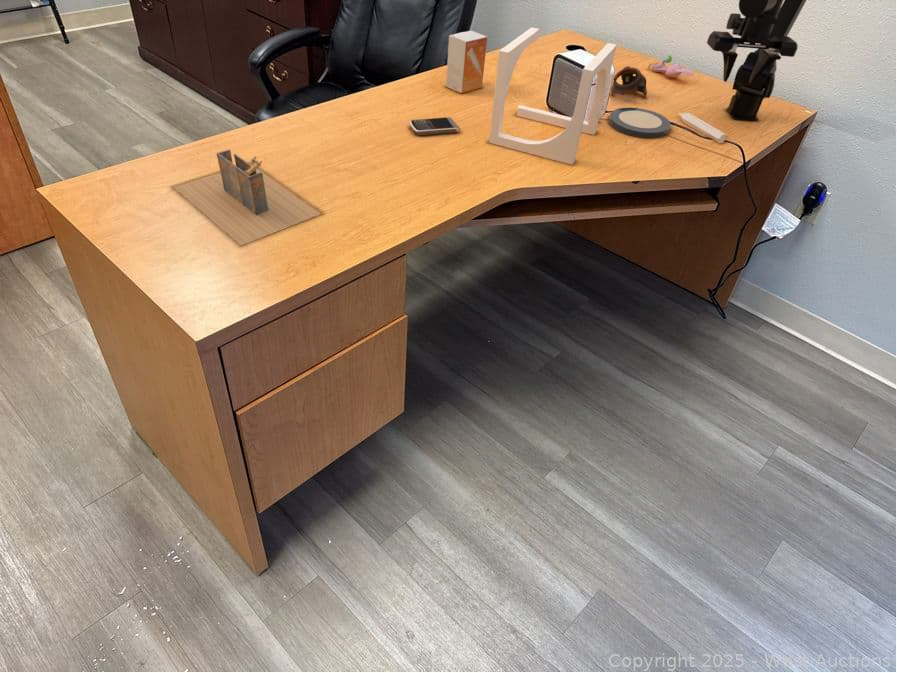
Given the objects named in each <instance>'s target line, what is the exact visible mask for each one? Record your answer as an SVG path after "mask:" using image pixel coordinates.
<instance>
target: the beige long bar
mask: <svg viewBox="0 0 897 673" xmlns="http://www.w3.org/2000/svg"><path fill="white" fill-rule="evenodd" d="M677 114H678V116H679V117H680V119H681V122H682V123H684V124H686V125H687V126H688V127H691V128H693V129H694V130H696V131H698V132H700V133H701V134H703V135H704V136H706V137H708V138H709V139H712V140H713V141H715V142H716V143H718V144H721V143H724V142H725V141H726V139H727V134H726V133H725V132H723V131H722V130H719V129H718V128H716V127H714V126H712V125H711V124H709V123H707V122H706V121H704V120H702V119H700V118H698V117H697V116H695V115H693V114H692V113H690V112H685V113H681V112H677Z"/></svg>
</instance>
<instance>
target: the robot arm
mask: <svg viewBox="0 0 897 673" xmlns="http://www.w3.org/2000/svg"><path fill="white" fill-rule="evenodd" d="M806 2H807V0H738V9H739V12H740V13H734V12H733V13H730V14H729V16H728V19H727V21H726V28H725V29H726V30H732V32H731V33H732V34H731V33H730V32H728V31H720V30H713V31H712V32H711V33H709V36H708V38H707V41H706V44H707V45H708V46H709V48H711V50H713V51H714V52H721V53H722V59H723V77H722V78H723V79H722V80H723V82H724V83H727V81H728V79H729V78H730V76H731V73H732V70H733V68H734V65H735V63H736V62H737V59H738V56H739V54H738V53H737V52H736V51H737V48H745V49H755V50H754V51H751V52H749V53H748V54H747V56H746V58H745V59H744V62H743V64H740V66H739V67H738V69H737V71H736V73H735V76H734V80H733V85H732V90H734V91H735V93H734V94H733V95H732V96H731V100H730V101H729V105H728V107H726V112H727V114H729V115H730V116H731V118H732V119H733V120H740V121H741V120H742V121H759V118H758V116H757V115H758V113H759V110H760V108H761V106H762V103H763V101H764V99H770V98H771V96H772V94H773V91H774V87H775V80H776V72H777V68H778V67H777V60H778V61H780V60H782V57H788V58H791V57H792V58H793V57H795V56H796V53H797V51H798V46H799V45H798V43H797V42H796V40H794V39H793V38H791V37H790V36H788V35H789V34H790V32H791V30H792V28H793V26H794V24H795V23H796V21H797V19H798V17H799V15H800V13H801V12H802V10H803V8H804V6H805V4H806ZM741 16H743V17H741ZM734 36H738V37H734Z"/></svg>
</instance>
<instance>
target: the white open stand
mask: <svg viewBox="0 0 897 673" xmlns="http://www.w3.org/2000/svg"><path fill="white" fill-rule="evenodd" d="M540 32H541V29H540V28H539V27H538V28H537V27H533V26H532V27H530V28H529V29H527V30H525V31H524V32H523V33H522V34H521V35H519V36H517V37H515V39H513V40H512V41H511V42H509V43H508V44H506V45H505V46H504V47H502V48H501V49H499V51H498V57H497V58H498V60H497V66H496V67H497V68H496V78H495V86H494V93H493V94H494V95H493V102H492V110H491V121H490V130H489V138H488V143H489V144H492V145H497V146H500V147H504V148H507V149H511V150H516V151H518V152H522V153H526V154H530V155H534V156H538V157H541V158H545V159H549V160H553V161H557V162H561V163H564V164H567V165H572V166H573V165H574V163H575V162H576V159H577V153H578V150H579V149H578V148H579V144H580V141H581V140H580V139H581V136H582V133H584V134H588V135H592V136H594V135H596V133H597V129H598V127H599V126H598V125H599V122H600V118H601V114H602V108H603V105H604V100H605V97H606V92H607V88H608V84H609V79H610V76H611V71H612V67H613V63H614V59H615V54H616V50H617V46H618V44H615V43H612V42H608V43H606V44H605V46H604V47H602V48H601V50H600V51H599V52H598V53H597V54H596V55H595V56H594V57H593V58H591V60H590V61H589V62H588V63H587V64H586V65H585V66H584V67H583V69H582V71H581V77H580V82H579V86H578V91H577V96H576V101H575V105H574V106H575V107H574V110H573V114H572V116H571V117H570V116H567V115H562V114H558V113H554V112H550V111H546V110H542V109H539V108H534V107H529V106H526V105H522V104H520V105H518V107H517V110H516V117H520V118H524V119H528V120H531V121H536V122H539V123H544V124H548V125H552V126H556V127H559V128H560V127H561V128H563V130H562V131H561V132H560V133H558V134H557V135H555V136H552V137H551V138H547V139H543V140H530V139H526V138H521V137H517V136H513V135H510V134H506V133H503V132H502V131H503V130H502V129H503V124H504V114H505V106H506V100H507V95H508V90H509V86H510V83H511V79H512V76H513V73H514V71H515V68H516V65H517V63H518V61H519V60H520V57H521V56H522V54H523V53H524V51H525V50H526V49H527V48H528V47H529V46H530V45H532V44H533V43H534V42H536V41H537V40H538V39H539V37H540ZM595 77H596V83H595V90H594V95H593V100H592V104H591V109H590V112H589V117H588V121H587V120H585V118H586V112H587V109H588V103H589V99H590V95H591V90H592V85H593V82H594V78H595Z"/></svg>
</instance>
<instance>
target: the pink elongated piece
mask: <svg viewBox="0 0 897 673" xmlns="http://www.w3.org/2000/svg"><path fill="white" fill-rule="evenodd" d="M667 57H668V58H664V60H662V61H660V62H654V63H653V62H652V63H650V62H649V64H648V66H647V69H650V68H651V70H652V72H653V73H662V74H665V76H666V77H668V78H671V79H673V78H678V77H679V76H680V75H681V74H684V75H685V76H687V77H691V76H692V77H693V76H694V72H693V70H692V69H690V68H687V67H683V66H681V64H678V63H673V64H670V65H669V66H668V67H667V66H666V64H669V63H671V62H672V60H673V56H672V55H671V54H668V55H667Z"/></svg>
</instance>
